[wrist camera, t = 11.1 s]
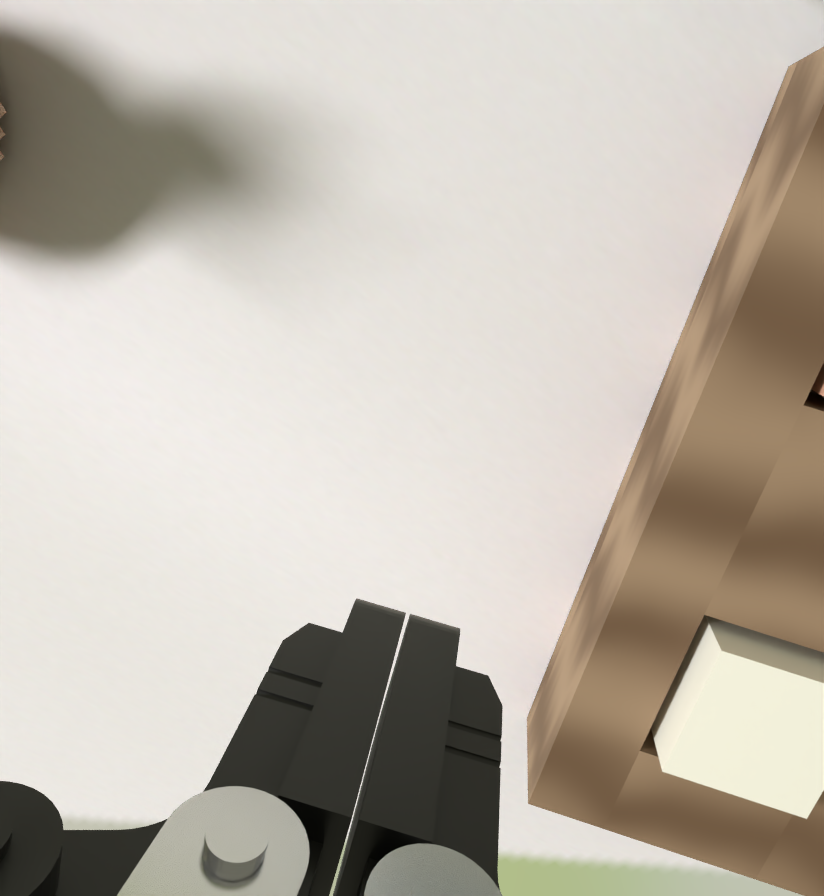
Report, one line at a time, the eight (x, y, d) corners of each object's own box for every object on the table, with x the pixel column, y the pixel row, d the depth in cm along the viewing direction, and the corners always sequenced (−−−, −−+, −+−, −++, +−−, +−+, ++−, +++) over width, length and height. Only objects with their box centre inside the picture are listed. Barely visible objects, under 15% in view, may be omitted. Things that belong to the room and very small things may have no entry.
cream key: (697, 599, 32) (721, 650, 28) (833, 642, 31) (876, 700, 28) (646, 709, 34) (662, 771, 30) (774, 750, 33) (806, 818, 30)
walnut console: (788, 66, 28) (855, 28, 23) (1151, 167, 28) (1313, 153, 22) (527, 718, 39) (528, 803, 33) (786, 802, 38) (832, 904, 32)
